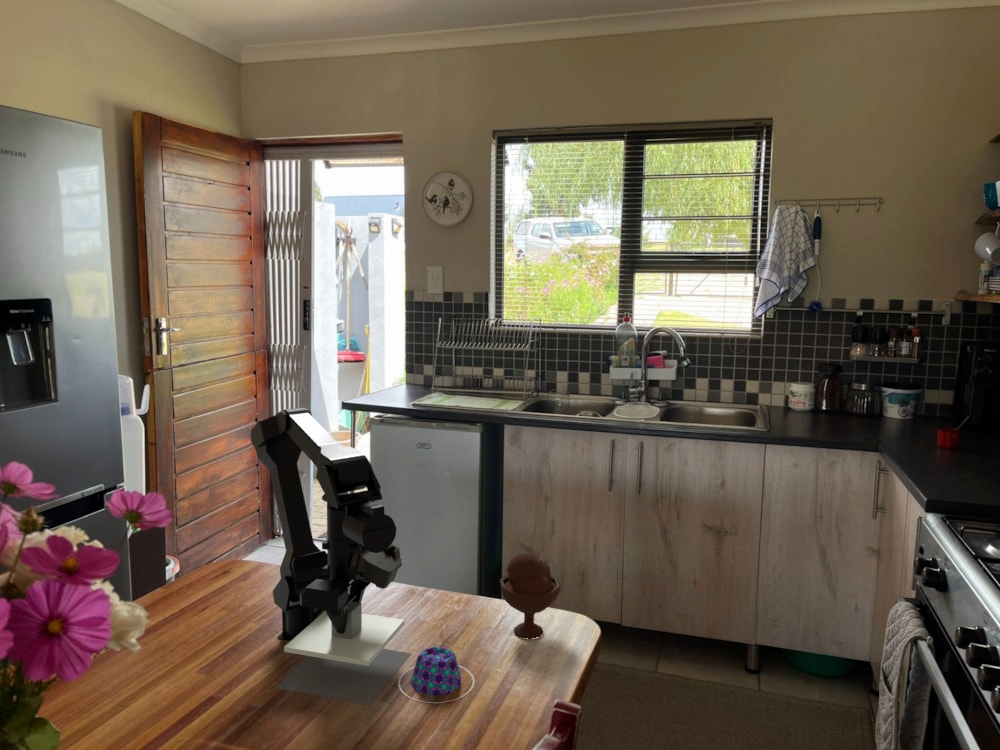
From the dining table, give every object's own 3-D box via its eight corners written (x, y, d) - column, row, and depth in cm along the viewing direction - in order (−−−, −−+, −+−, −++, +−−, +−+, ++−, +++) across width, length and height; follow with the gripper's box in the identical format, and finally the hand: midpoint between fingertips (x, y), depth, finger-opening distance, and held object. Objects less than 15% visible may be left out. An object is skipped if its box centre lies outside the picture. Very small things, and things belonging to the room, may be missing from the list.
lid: (284, 651, 115) (283, 619, 115) (328, 612, 129) (327, 583, 128) (368, 665, 112) (368, 632, 111) (404, 624, 125) (404, 593, 125)
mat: (275, 690, 116) (275, 687, 116) (325, 641, 131) (325, 639, 131) (371, 707, 112) (371, 705, 112) (411, 655, 127) (411, 653, 127)
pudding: (487, 677, 121) (488, 646, 121) (451, 716, 111) (451, 682, 110) (423, 659, 126) (423, 629, 126) (382, 694, 116) (382, 662, 115)
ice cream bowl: (555, 650, 130) (558, 567, 128) (492, 642, 132) (494, 560, 130) (563, 622, 140) (565, 545, 138) (504, 616, 142) (505, 539, 140)
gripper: (367, 561, 107) (367, 664, 109) (416, 520, 125) (415, 609, 127) (297, 552, 110) (298, 652, 112) (354, 513, 128) (355, 601, 130)
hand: (346, 627), depth 120 cm, fingers closed on lid, 3 cm apart
